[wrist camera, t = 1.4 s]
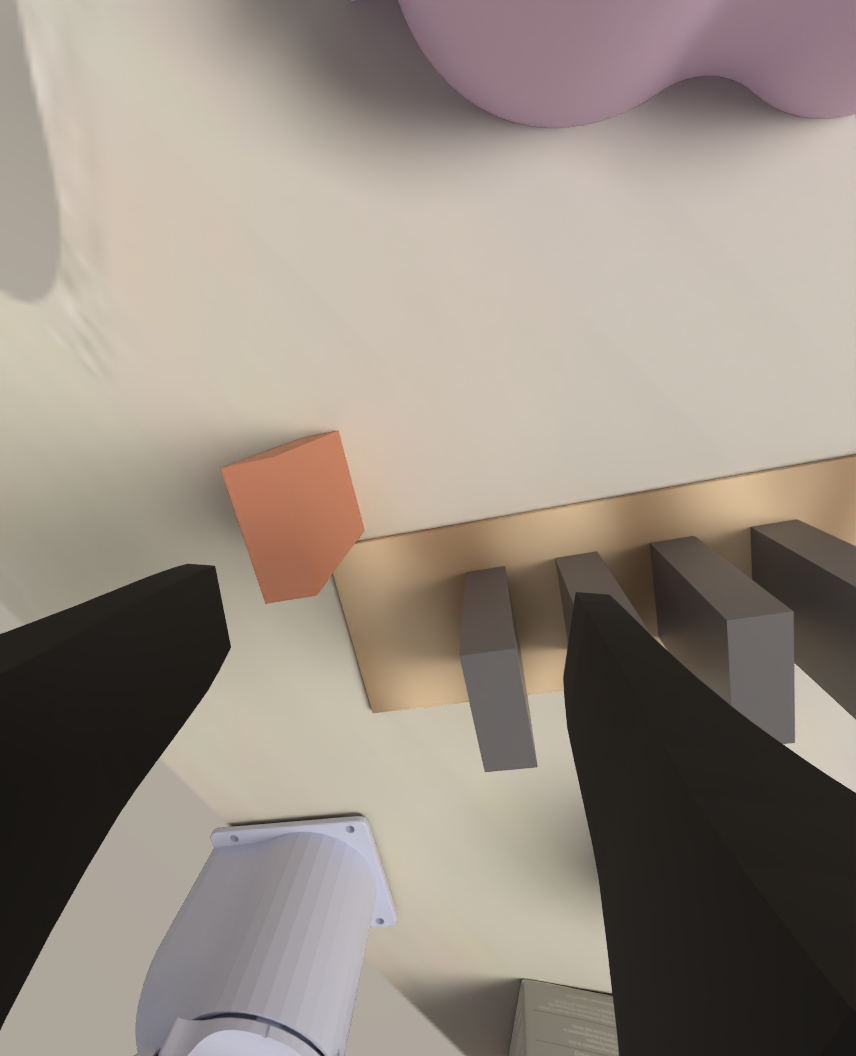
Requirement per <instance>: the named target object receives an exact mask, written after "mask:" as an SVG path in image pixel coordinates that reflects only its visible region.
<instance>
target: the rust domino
mask: <svg viewBox="0 0 856 1056" xmlns="http://www.w3.org/2000/svg"><path fill="white" fill-rule="evenodd" d="M220 469H221V472H222V475H223V478H224V481H225V484H226V487H227V490H228V493H229V496H230V499H231V502H232V505H233V508H234V511H235V514H236V517H237V520H238V523H239V526H240V529H241V532H242V535H243V538H244V541H245V544H246V547H247V550H248V553H249V556H250V559H251V562H252V565H253V568H254V571H255V574H256V577H257V580H258V583H259V586H260V589H261V592H262V595H263V598H264V601H265V604H267V603H273V602H279V601H285V600H291V599H297V598H304V597H310V596H316V595H317V594H318V593H319V592H320V590H321V589H322V587H323V586H324V585H325V583H326V582H327V581H328V579H329V578H330V577H331V575H332V574H333V572H334V571H335V570H336V568H337V567H338V566H339V564H340V563H341V562H342V560H343V559H344V557H345V556H346V555H347V553H348V552H349V551H350V549H351V548H352V547H353V545H354V544H355V542H356V541H357V540H358V538H359V537H360V536H361V534H362V533H363V532H364V527H363V523H362V519H361V515H360V511H359V508H358V504H357V500H356V496H355V492H354V488H353V485H352V481H351V477H350V473H349V469H348V465H347V462H346V458H345V454H344V450H343V446H342V442H341V439H340V435H339V431H334V432H329V433H325V434H320V435H315V436H311V437H306V438H301V439H298V440H295V441H292V442H290V443H287V444H284V445H282V446H279V447H276V448H273V449H271V450H268V451H265V452H263V453H260V454H257V455H254V456H252V457H249V458H246V459H244V460H241V461H238V462H235V463H233V464H230V465H227V466H225V467H222V468H220Z"/></svg>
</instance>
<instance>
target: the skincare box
mask: <svg viewBox="0 0 856 1056" xmlns="http://www.w3.org/2000/svg"><path fill="white" fill-rule="evenodd" d="M509 1056H619V1050H618V1040H617V1030H616V1021H615V1012H614V1003H613V996H610V995H605V994H600V993H595V992H589V991H584V990H579V989H574V988H569V987H565V986H560V985H555V984H550V983H545V982H539V981H532V980H526V979H524V980H522V981H521V986H520V991H519V997H518V1003H517V1009H516V1015H515V1021H514V1026H513V1032H512V1038H511V1044H510V1050H509Z"/></svg>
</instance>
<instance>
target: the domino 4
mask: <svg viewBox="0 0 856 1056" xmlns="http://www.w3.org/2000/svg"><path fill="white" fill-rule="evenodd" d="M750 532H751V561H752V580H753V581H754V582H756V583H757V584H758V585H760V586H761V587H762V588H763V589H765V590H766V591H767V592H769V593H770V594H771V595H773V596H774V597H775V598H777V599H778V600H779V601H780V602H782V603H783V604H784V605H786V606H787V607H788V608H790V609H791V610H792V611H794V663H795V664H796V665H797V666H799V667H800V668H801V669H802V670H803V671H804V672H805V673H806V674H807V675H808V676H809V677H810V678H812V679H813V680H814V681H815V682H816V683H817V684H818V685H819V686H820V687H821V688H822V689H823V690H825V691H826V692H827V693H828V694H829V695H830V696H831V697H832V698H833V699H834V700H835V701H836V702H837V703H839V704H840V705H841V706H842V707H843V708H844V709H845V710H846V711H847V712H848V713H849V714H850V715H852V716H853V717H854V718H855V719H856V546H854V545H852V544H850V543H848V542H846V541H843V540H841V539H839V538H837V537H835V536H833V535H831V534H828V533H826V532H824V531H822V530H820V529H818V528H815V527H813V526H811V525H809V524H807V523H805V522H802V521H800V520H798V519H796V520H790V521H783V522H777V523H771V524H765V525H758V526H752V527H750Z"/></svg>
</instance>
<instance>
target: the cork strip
mask: <svg viewBox="0 0 856 1056" xmlns="http://www.w3.org/2000/svg"><path fill="white" fill-rule="evenodd" d="M796 519H798V520H800V521H802V522H805V523H807V524H809V525H811V526H813V527H815V528H818V529H820V530H822V531H824V532H826V533H828V534H831V535H833V536H835V537H837V538H839V539H841V540H843V541H846V542H848V543H850V544H852V545H854V546H856V455H850V456H845V457H839V458H833V459H828V460H822V461H816V462H810V463H805V464H799V465H793V466H788V467H782V468H776V469H771V470H765V471H759V472H753V473H748V474H742V475H736V476H731V477H725V478H719V479H713V480H708V481H702V482H696V483H691V484H685V485H679V486H673V487H668V488H662V489H656V490H651V491H645V492H639V493H633V494H628V495H622V496H616V497H611V498H605V499H599V500H593V501H588V502H582V503H576V504H571V505H565V506H559V507H553V508H548V509H542V510H536V511H531V512H525V513H519V514H513V515H508V516H502V517H496V518H491V519H485V520H479V521H474V522H468V523H462V524H456V525H451V526H445V527H439V528H434V529H428V530H422V531H416V532H411V533H405V534H399V535H394V536H388V537H382V538H376V539H371V540H365V541H359V542H355V544H354V545H353V547H352V548H351V549H350V551H349V552H348V553H347V555H346V556H345V557H344V559H343V560H342V562H341V563H340V564H339V566H338V567H337V568H336V570H335V571H334V572H333V576H334V579H335V583H336V586H337V590H338V593H339V597H340V600H341V604H342V607H343V611H344V614H345V618H346V621H347V625H348V628H349V632H350V635H351V639H352V642H353V646H354V649H355V653H356V656H357V660H358V663H359V667H360V670H361V674H362V677H363V681H364V684H365V688H366V691H367V695H368V698H369V702H370V705H371V709H372V713H379V712H387V711H396V710H404V709H413V708H421V707H430V706H438V705H447V704H455V703H464V702H469V698H468V693H467V689H466V684H465V679H464V675H463V670H462V666H461V661H460V657H459V653H460V640H461V627H462V613H463V600H464V586H465V573H466V572H470V571H476V570H482V569H488V568H495V567H501V566H505V567H506V573H507V578H508V584H509V589H510V595H511V601H512V606H513V612H514V617H515V623H516V628H517V634H518V639H519V645H520V650H521V656H522V663H523V670H524V677H525V684H526V690H527V695H531V694H540V693H548V692H557V691H564V685H563V675H564V668H565V661H566V654H567V647H568V640H567V634H566V627H565V621H564V614H563V607H562V601H561V594H560V587H559V581H558V574H557V567H556V561H555V558H558V557H564V556H570V555H576V554H583V553H589V552H595V551H597V552H598V553H599V555H600V557H601V558H602V560H603V561H604V563H605V564H606V566H607V567H608V569H609V570H610V572H611V573H612V575H613V576H614V578H615V580H616V581H617V583H618V584H619V586H620V587H621V589H622V590H623V592H624V593H625V595H626V596H627V598H628V599H629V601H630V603H631V604H632V606H633V607H634V609H635V610H636V612H637V613H638V615H639V616H640V618H641V619H642V621H643V622H644V624H645V626H646V627H647V629H648V630H649V633H650V634H651V635H652V636H653V637H654V638H655V639H656V640H657V641H658V642H659V643H660V644H661V645H662V646H663V647H664V648H665V646H664V645H663V643H662V642H661V640H660V639H659V635H658V625H657V614H656V603H655V593H654V582H653V571H652V561H651V550H650V543H652V542H658V541H664V540H670V539H677V538H683V537H689V536H695V537H697V538H698V539H699V540H701V541H702V542H703V543H705V544H706V545H707V546H708V547H710V548H711V549H712V550H714V551H715V552H716V553H718V554H719V555H720V556H722V557H723V558H724V559H725V560H727V561H728V562H729V563H731V564H732V565H733V566H735V567H736V568H737V569H739V570H740V571H741V572H743V573H744V574H745V575H746V576H748V577H749V578H750V579H752V561H751V532H750V527H752V526H758V525H765V524H771V523H777V522H783V521H790V520H796ZM665 649H666V648H665ZM666 650H667V649H666ZM794 664H795V663H794Z"/></svg>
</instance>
